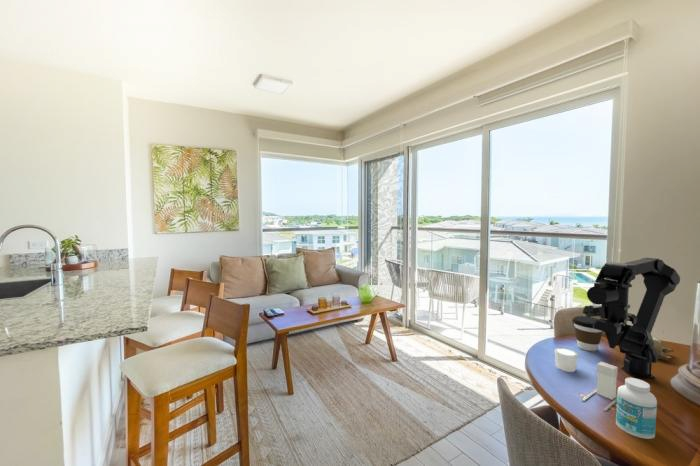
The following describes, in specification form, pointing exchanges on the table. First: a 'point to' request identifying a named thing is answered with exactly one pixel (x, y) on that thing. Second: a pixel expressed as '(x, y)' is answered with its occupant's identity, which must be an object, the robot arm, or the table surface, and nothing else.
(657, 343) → the ceramic sculpture
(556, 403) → the table surface
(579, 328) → the coffee cup
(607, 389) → the fader tab
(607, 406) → the console
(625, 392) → the pill bottle
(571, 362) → the white cylinder
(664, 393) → the table surface
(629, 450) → the table surface
